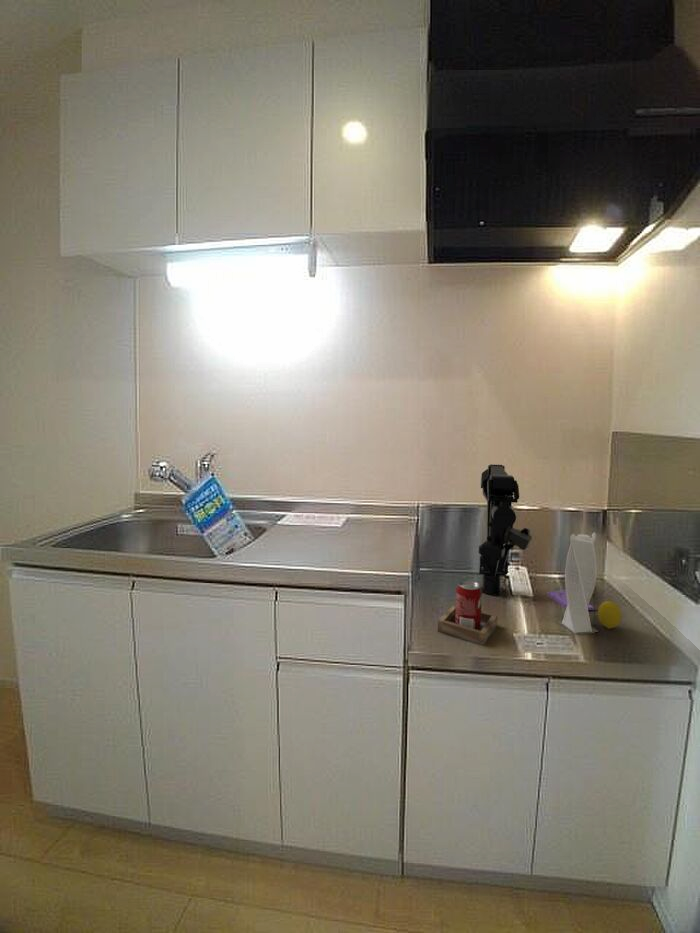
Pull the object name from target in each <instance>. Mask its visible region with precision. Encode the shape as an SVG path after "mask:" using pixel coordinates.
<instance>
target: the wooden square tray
mask: <svg viewBox="0 0 700 933" xmlns="http://www.w3.org/2000/svg"><path fill="white" fill-rule="evenodd" d="M455 610H456V603H454V604H453V605H452V606H451V607H450V608H448V610H447V611H445V613H444V614H443V615H442V616H441V617H440V618H439V619H438V620H437V632H439V633H441V634H445V635H449V636H451V635H452V637H456V638H458V637H459V639H462V640H465V641H468V642H472V643H475V644H478V645H481V646H484V645H485V644H486V642H487V641H488V639H489V638H490V636H491V635H492V634H493V633H494V630H495V629H496V628H497V625H498V614H494V613H490V612H486V611H482V610H481V626H480V628H479V629H473V628H469V627H466V626H462V625H459V624H455Z"/></svg>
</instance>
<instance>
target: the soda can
mask: <svg viewBox="0 0 700 933" xmlns="http://www.w3.org/2000/svg"><path fill="white" fill-rule="evenodd" d="M480 588H481V586H480V584H479V583H478V582H476V581H473V580H462V581H461V580H460V581H459V582H458V586H457V588H456V590H455V604H456V610H455V624H459V625H462V626H466V627H469V628H473V629H479V628H480V626H481V611H482V601H483V600H482V598H483V595H482V594H483V592H482V591H481V589H480Z"/></svg>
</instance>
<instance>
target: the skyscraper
mask: <svg viewBox="0 0 700 933" xmlns="http://www.w3.org/2000/svg"><path fill="white" fill-rule="evenodd" d="M569 540H570V543H569V547H568V551H567V554H566V555H567V556H566V561H565V567H564V568H565V571H564V585H565V590H566V596H567V603H568V604H567V608H566V607H565V611H564V614H563V618H562V620H558V621H557V623H559V624H560V625H562V627H563V628H565V629H566V630H567V631H569V632H570V631H571V633H572V634H573V633H574V634H577V635H582V634H581V633H588V634H596V633H595V632H598V633H599V630H597V629H596V628H594V627H593V626H592V624H591V619H590V614H589V612H590V611H588V607H587V606H588V604H589V605H590V601H591V599H592V596H593V593H594V590H595V587H596V581H597V574H598V573H597V572H598V571H597V570H598V569H597V568H598V566H597V564H598V563H597V555H596V548H595V541H596V540H597V533H596V532H595V531H594V532H592V534H591V536H590V535H588V534H582V533H579V534H577V535H575V533H572V534H571V535H570V536H569ZM574 634H573V635H574Z"/></svg>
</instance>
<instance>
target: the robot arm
mask: <svg viewBox="0 0 700 933" xmlns="http://www.w3.org/2000/svg"><path fill="white" fill-rule="evenodd" d="M505 467H506V466H505V465H503V464H489V465H487V469H486V470H484V471H483V472H481V474H480V475H481V476H480V489H482V496H483V497H484V499H485V500H486V541H484V542H483V543H482V544H480V545H479V546H478V554H479V558H478V574H479V575H482V582H481V583H482V584H481V586H480V587H479V588H480V589H481V591H482V594H488V595H491V596H496V597H499V596H500V594H501V593H502V592H503V591H504V588H503V587H501V583H502V582H501V580H502V578H501V577H507V575H508V571H509V564H510V563H509V561H508V556H509V552H510V550H511V549H513V548H514V547H515V546H516V547H517V548H518V549H520V550H523V551H526V550H527V549H528V547H529V545H530V543H531V541H532V539H533V536H532V535H531V532H530V529H529V528H527V527H524V528H522V529H517V528H515V527H514V525H515V522H516V520H517V515H516V512H515V511H514V509H513V507H512V504H513V503H516V504H517V503H518V500H519V499H520V490H519V489H520V488H519V483H518V482H517V480H515V477H514V476H513V475H510V474H508V473H507V472H506V468H505Z"/></svg>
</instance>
